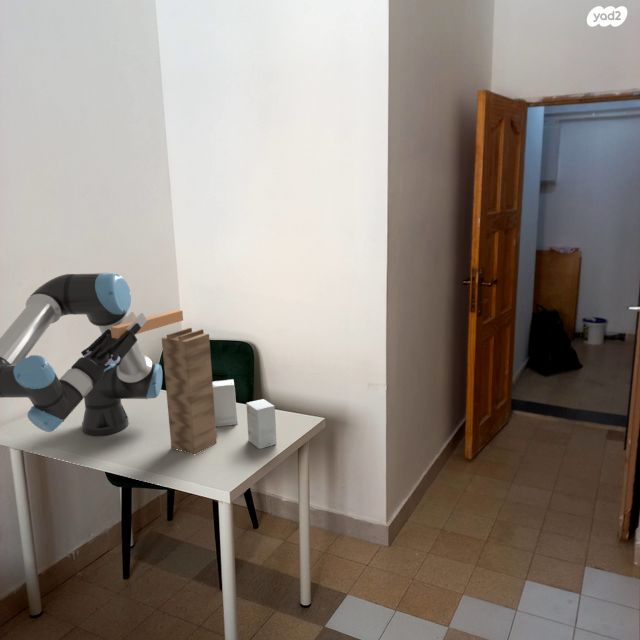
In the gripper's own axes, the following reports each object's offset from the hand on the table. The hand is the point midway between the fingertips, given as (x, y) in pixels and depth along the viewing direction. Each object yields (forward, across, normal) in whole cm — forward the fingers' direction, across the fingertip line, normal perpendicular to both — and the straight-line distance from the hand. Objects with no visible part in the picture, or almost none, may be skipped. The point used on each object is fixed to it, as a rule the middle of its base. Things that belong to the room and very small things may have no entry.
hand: (139, 316), depth 165 cm
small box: (+2, +18, -54) cm, 57 cm away
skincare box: (+8, -3, -58) cm, 59 cm away
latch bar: (+1, 0, -5) cm, 5 cm away
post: (-8, 0, -48) cm, 49 cm away
